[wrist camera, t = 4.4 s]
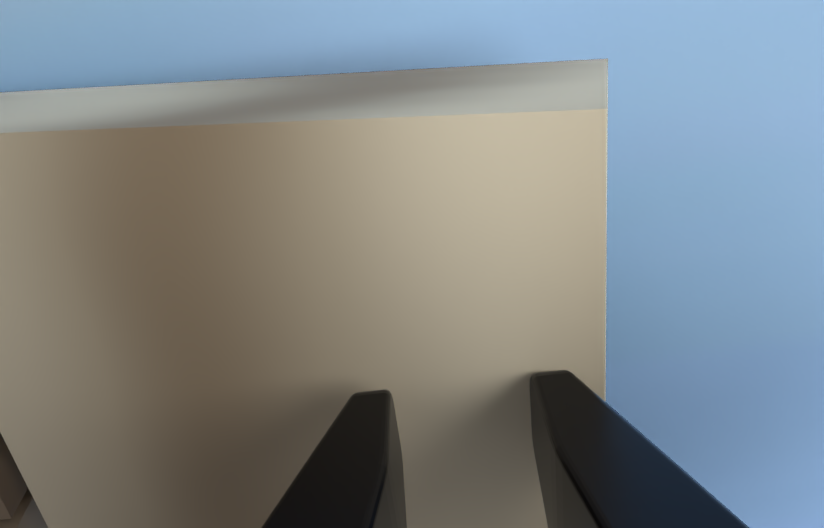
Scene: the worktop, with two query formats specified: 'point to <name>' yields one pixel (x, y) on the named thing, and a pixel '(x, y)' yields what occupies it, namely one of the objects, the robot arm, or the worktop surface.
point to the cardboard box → (16, 496)
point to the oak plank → (296, 284)
